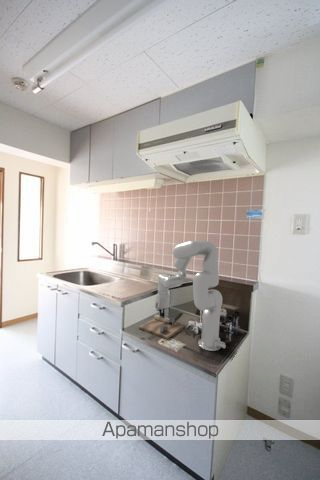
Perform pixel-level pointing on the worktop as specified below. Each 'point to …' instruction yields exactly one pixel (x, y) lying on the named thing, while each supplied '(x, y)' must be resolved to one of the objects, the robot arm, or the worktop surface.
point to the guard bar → (164, 319)
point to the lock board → (155, 325)
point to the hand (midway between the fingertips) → (162, 317)
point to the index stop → (163, 329)
